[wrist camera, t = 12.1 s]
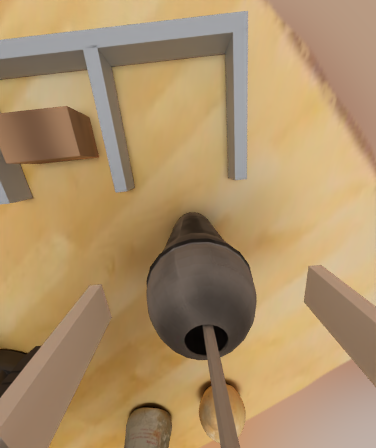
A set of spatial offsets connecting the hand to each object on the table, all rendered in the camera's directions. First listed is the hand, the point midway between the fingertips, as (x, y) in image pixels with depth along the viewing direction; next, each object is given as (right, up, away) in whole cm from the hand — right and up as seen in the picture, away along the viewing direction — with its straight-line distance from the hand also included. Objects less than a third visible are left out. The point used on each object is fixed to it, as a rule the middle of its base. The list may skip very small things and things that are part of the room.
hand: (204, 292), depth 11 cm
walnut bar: (-15, +14, +8) cm, 22 cm away
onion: (+5, -27, +22) cm, 35 cm away
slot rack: (-9, +14, +8) cm, 19 cm away
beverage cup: (0, +4, +12) cm, 12 cm away
